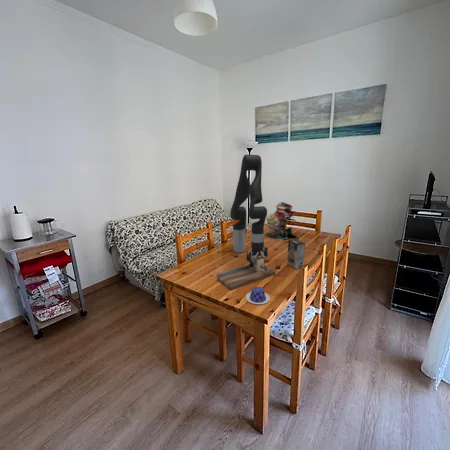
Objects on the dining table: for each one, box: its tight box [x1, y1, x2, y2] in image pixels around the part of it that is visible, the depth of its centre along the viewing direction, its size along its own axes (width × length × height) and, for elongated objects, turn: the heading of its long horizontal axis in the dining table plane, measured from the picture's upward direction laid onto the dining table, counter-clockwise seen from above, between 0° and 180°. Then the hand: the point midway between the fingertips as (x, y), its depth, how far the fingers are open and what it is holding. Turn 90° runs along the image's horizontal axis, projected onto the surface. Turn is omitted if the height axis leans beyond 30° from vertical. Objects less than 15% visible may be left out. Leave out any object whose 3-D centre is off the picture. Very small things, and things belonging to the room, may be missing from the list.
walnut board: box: [216, 263, 277, 291], centre depth 145 cm, size 14×32×4 cm, turn 122°
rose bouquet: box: [264, 201, 300, 241], centre depth 213 cm, size 26×29×30 cm
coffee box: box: [286, 239, 306, 269], centre depth 157 cm, size 9×6×16 cm
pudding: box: [245, 286, 271, 305], centre depth 123 cm, size 12×12×5 cm
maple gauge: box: [251, 256, 267, 272], centre depth 148 cm, size 12×5×7 cm, turn 32°
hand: (257, 265), depth 150 cm, fingers open, 8 cm apart
